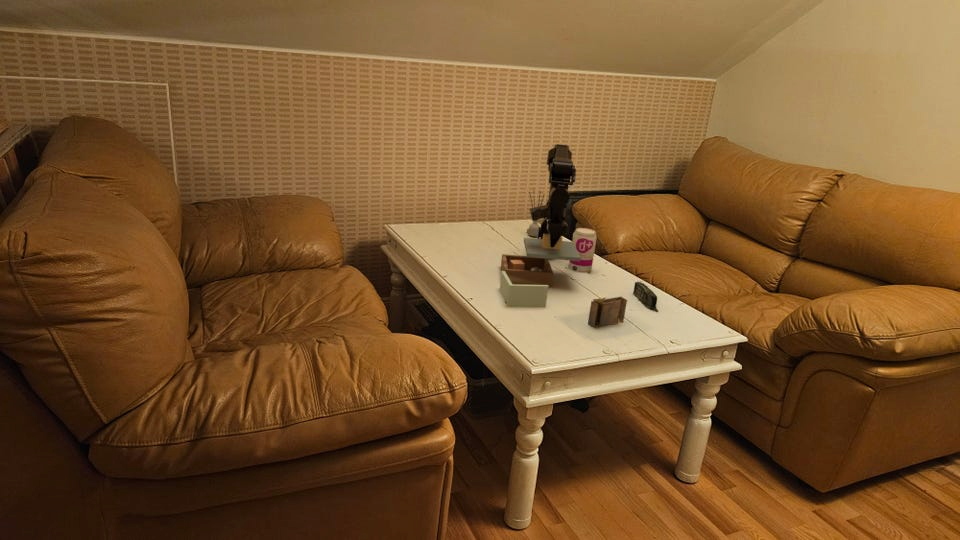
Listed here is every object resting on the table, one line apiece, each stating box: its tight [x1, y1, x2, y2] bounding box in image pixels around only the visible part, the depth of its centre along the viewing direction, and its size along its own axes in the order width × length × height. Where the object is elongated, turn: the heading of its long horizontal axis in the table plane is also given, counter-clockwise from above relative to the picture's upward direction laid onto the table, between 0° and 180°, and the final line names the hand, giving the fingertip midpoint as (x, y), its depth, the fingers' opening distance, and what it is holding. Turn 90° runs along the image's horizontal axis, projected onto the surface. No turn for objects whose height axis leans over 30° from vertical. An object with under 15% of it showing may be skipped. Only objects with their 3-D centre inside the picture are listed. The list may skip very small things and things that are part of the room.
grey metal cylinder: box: [531, 267, 542, 272], centre depth 201 cm, size 4×4×4 cm
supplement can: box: [568, 227, 597, 274], centre depth 215 cm, size 8×8×15 cm
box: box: [500, 253, 554, 288], centre depth 203 cm, size 16×16×6 cm
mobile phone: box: [633, 281, 659, 312], centre depth 193 cm, size 5×3×15 cm
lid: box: [523, 234, 580, 261], centre depth 199 cm, size 17×17×5 cm
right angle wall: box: [499, 271, 550, 308], centre depth 186 cm, size 12×12×8 cm
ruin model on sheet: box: [587, 296, 628, 329], centre depth 174 cm, size 11×3×10 cm, turn 120°
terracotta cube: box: [509, 260, 525, 270], centre depth 206 cm, size 4×4×4 cm
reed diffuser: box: [526, 188, 545, 237], centre depth 250 cm, size 10×7×20 cm
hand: (551, 245), depth 199 cm, fingers closed on lid, 3 cm apart
